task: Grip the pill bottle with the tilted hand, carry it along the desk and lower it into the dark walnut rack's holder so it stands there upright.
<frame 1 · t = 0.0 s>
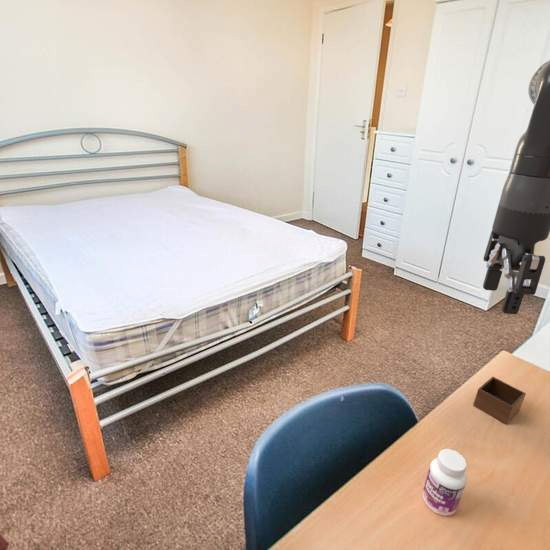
hand: (498, 300, 64), 29 cm above the table, tool pointing down, fingers open, 8 cm apart
pill bottle: (438, 502, 62), on the table
rack: (496, 407, 82), on the table
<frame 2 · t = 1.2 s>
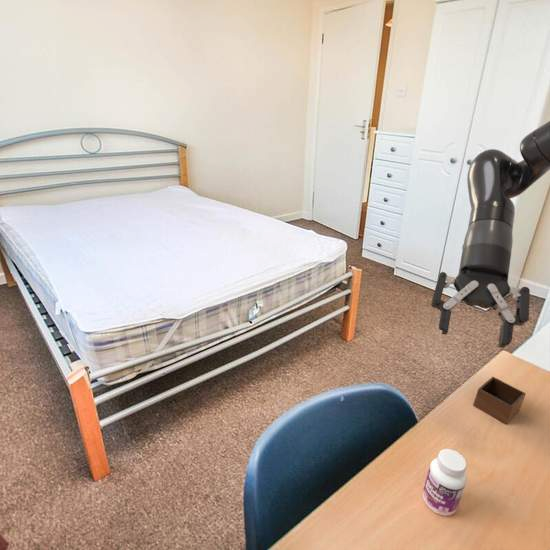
hand: (472, 339, 62), 24 cm above the table, tool tilted 45°, fingers open, 8 cm apart
nothing on the table moved.
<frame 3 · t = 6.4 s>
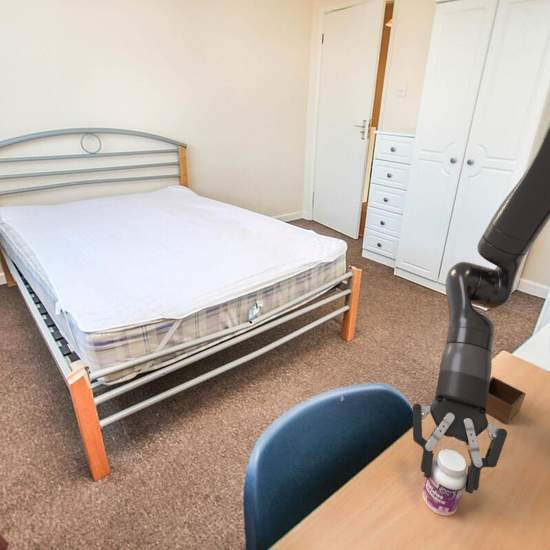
hand: (447, 484, 58), 6 cm above the table, tool tilted 45°, fingers closed on pill bottle, 5 cm apart
pill bottle: (439, 502, 62), on the table, touching gripper
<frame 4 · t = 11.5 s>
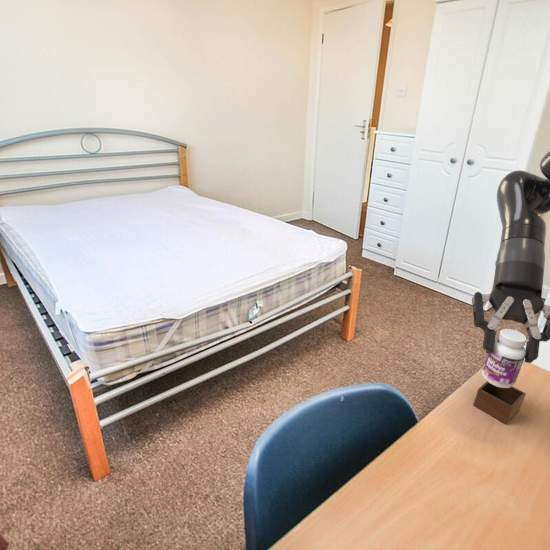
hand: (509, 356, 65), 20 cm above the table, tool tilted 45°, fingers closed on pill bottle, 5 cm apart
pill bottle: (497, 380, 69), point 14 cm above the table, touching gripper
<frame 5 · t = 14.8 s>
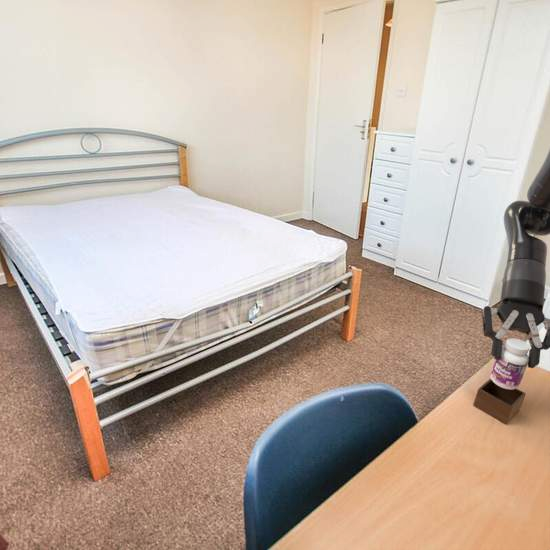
hand: (514, 362, 75), 13 cm above the table, tool tilted 45°, fingers closed on pill bottle, 5 cm apart
pill bottle: (503, 382, 80), point 7 cm above the table, touching gripper
when the fingers open (7 cm above the table, at t = 17.0 s): pill bottle stays where it is, resting on rack.
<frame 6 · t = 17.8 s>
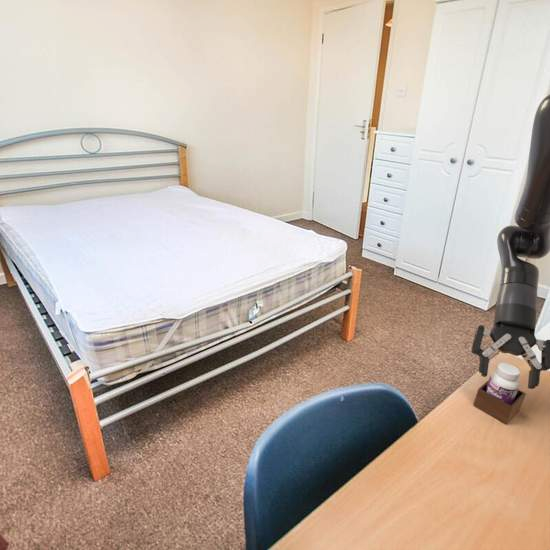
hand: (507, 382, 78), 8 cm above the table, tool tilted 45°, fingers open, 8 cm apart
pill bottle: (496, 405, 82), resting on rack
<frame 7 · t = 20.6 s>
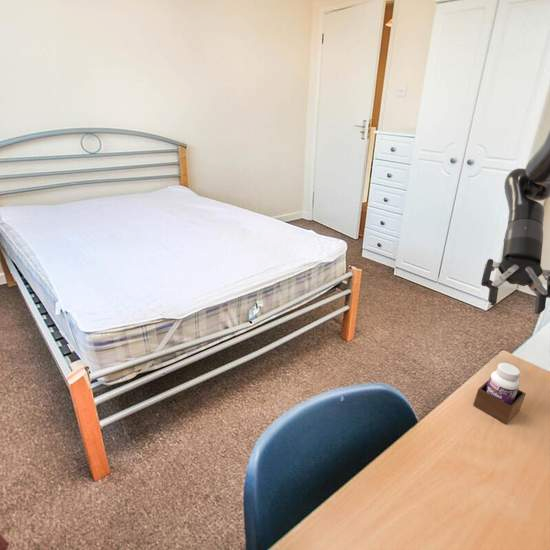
hand: (515, 308, 83), 19 cm above the table, tool tilted 45°, fingers open, 8 cm apart
nothing on the table moved.
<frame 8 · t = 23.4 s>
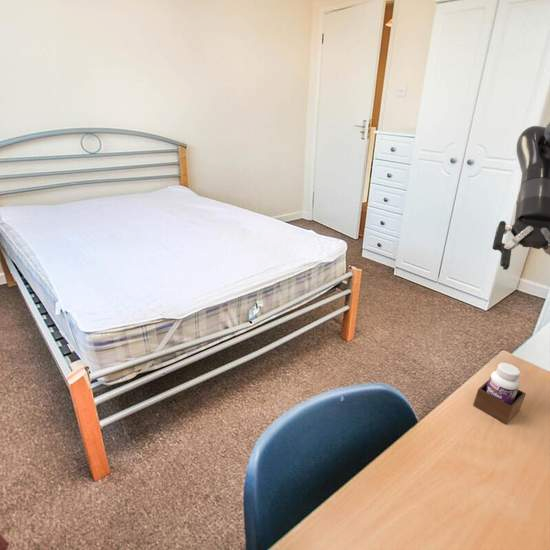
hand: (529, 272, 78), 29 cm above the table, tool tilted 45°, fingers open, 8 cm apart
nothing on the table moved.
at the end: pill bottle 0.3 cm off-centre on the rack, point 0.4 cm above the rack's base; pill bottle tilted 0°; the gripper is holding nothing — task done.
